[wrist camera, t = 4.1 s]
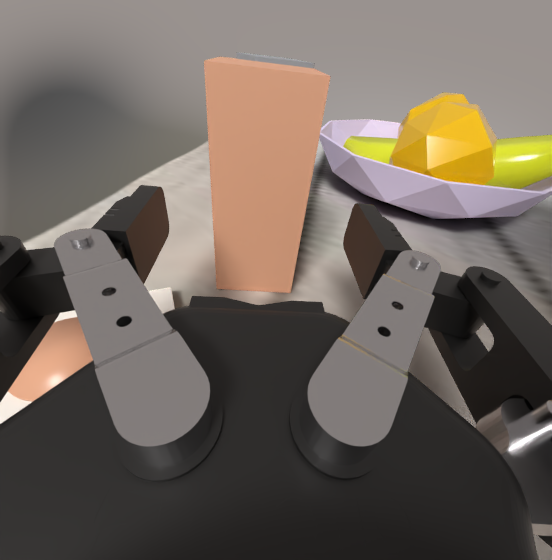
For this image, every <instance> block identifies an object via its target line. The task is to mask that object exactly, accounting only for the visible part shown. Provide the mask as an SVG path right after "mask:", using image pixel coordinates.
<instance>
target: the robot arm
mask: <svg viewBox="0 0 552 560" xmlns="http://www.w3.org/2000/svg"><path fill="white" fill-rule="evenodd" d="M168 234H169V221H168V215H167V209H166V203H165V197H164V192H163V189H162V188H161V187H157V186H145V185H140V186H139V187H138V189H137V190H136V191H135V192H134V193H133V194H132V195H131V196H130V197H129V196H127V197H125V198H123V199H121V200H119V201H117V202H116V203H115V204H114V205H113V206H112V207H111V208H110V209H109V210H108V211H107V212H106V213H105V215H103V217H102V218H101V219H100V220H99V221H98V222H97V223H96V224H95V225H94V226H93V227H92V228H91V229H79V230H74V231H71V232H68V233H66V234H64V235H62V236H60V237H59V238H58V239H57V240H56V241H55V243H54V247H53V248H44V249H35V250H26V248H25V247H24V245H23V243H22V242H21V240H20V239H18V238H16V237H13V236H0V402H1V401H2V399H3V398H4V396H5V395H6V393H7V392H8V390H9V389H10V387H11V386H12V384H13V383H14V381H15V380H16V378H17V377H18V375H19V374H20V372H21V371H22V369H23V368H24V366H25V365H26V363H27V362H28V360H29V359H30V357H31V356H32V354H33V353H34V351H35V350H36V349H37V347H38V346H39V344H40V343H41V341H42V340H43V338H44V337H45V335H46V334H47V332H48V331H49V329H50V328H51V326H52V325H53V323H54V322H55V320H56V319H57V317H58V316H59V314H60V313H63V312H68V311H74V310H75V312H76V314H77V317H78V320H79V323H80V325H81V328H82V331H83V333H84V336H85V339H86V342H87V344H88V347H89V350H90V353H91V355H92V358H93V360H92V361H91V362H89V363H88V364H87V365H85V366H84V367H82V368H81V369H79V370H78V371H76V372H75V373H73V374H72V375H71V376H69V377H68V378H66V379H65V380H63V381H62V382H60V383H59V384H58V385H56V386H55V387H53V388H52V389H50V390H49V391H47V392H46V393H44V394H43V395H42V396H40V397H39V398H37V399H36V400H34V401H33V402H31V403H30V404H28V405H27V406H26V407H24V408H23V409H21V410H20V411H18V412H17V413H15V414H14V415H12V416H11V417H10V418H8V419H7V420H5V421H4V422H2V423H1V424H0V560H539V559H538V555H537V551H536V546H535V542H534V536H533V535H538V536H539V537H540V538H541V539H542V540H544V541H545V542H546V543H547V544H548V545H550V546H551V547H552V325H551V324H550V323H549V322H548V321H547V320H546V319H545V318H544V317H543V316H542V315H541V314H540V313H539V312H538V311H537V310H536V309H535V308H534V307H533V306H532V305H531V304H530V302H529V301H528V300H527V299H526V298H525V297H524V296H523V295H522V294H521V293H520V292H519V291H518V290H517V289H516V288H515V287H514V286H513V285H512V284H511V283H510V282H509V281H508V280H507V279H506V278H505V277H503V276H502V275H500V274H498V273H497V272H495V271H492V270H490V269H487V268H483V267H476V266H474V267H469V268H468V269H467V270H466V271H465V273H464V274H463V275H462V277H460V276H456V275H452V274H448V273H444V272H441V266H440V264H439V263H438V262H437V261H436V260H435V259H434V258H432V257H431V256H429V255H427V254H424V253H422V252H418V251H413V250H412V249H411V248H410V246H409V245H408V244H407V242H406V241H405V240H404V238H403V237H401V236H402V235H401V234H400V233H399V231H398V230H397V228H396V227H395V226H394V224H393V223H392V222H390V221H389V220H387V219H386V218H385V217H382V216H381V214H380V213H379V211H378V210H377V208H376V207H375V206H374V205H370V204H358V203H356V204H355V205H354V207H353V209H352V212H351V216H350V219H349V222H348V225H347V229H346V232H345V235H344V242H343V246H344V250H345V253H346V255H347V258H348V260H349V263H350V265H351V268H352V271H353V273H354V276H355V278H356V281H357V283H358V286H359V288H360V291H361V294H362V296H363V299H366V300H365V302H364V303H363V305H362V306H361V308H360V309H359V311H358V312H357V314H356V315H355V317H354V318H353V320H352V321H351V323H349V322H348V321H346V320H344V319H342V318H340V317H338V316H336V315H333V314H330V313H327V312H324V308H323V303H322V302H306V301H287V302H280V303H273V304H266V305H254V304H250V303H245V302H241V301H237V300H233V299H229V298H223V297H202V296H192V298H191V302H190V305H189V306H185V307H180V308H176V309H173V310H170V311H168V312H165V313H163V314H162V312H161V310H160V309H159V307H158V306H157V304H156V303H155V301H154V300H153V298H152V297H151V295H150V293H149V292H148V290H147V289H146V287H145V286H144V283H145V281H146V279H147V277H148V275H149V273H150V271H151V269H152V267H153V265H154V263H155V261H156V259H157V257H158V255H159V253H160V251H161V249H162V247H163V245H164V243H165V241H166V239H167V237H168ZM484 323H485V324H486V325H487V327H488V328H489V330H490V331H491V332H492V334H493V337H494V345H493V348H492V349H491V350H490V351H489V352H488V351H487V349H486V348H485V346H484V345H483V343H482V342H481V340H480V339H479V337H478V336H477V334H476V333H475V332H476V331H477V330H478V329H479V328H480V327H481V326H482V325H483V324H484ZM424 327H426V328H428V329H429V331H430V333H431V335H432V337H433V339H434V341H435V343H436V345H437V347H438V349H439V351H440V353H441V355H442V357H443V359H444V361H445V363H446V365H447V367H448V369H449V371H450V373H451V375H452V377H453V379H454V381H455V383H456V385H457V387H458V389H459V391H460V392H461V394H462V396H463V398H464V400H465V402H466V404H467V406H468V408H469V410H470V412H471V414H472V416H473V418H474V420H475V422H476V428H475V427H473V426H472V425H471V424H470V423H469V422H468V421H466V420H465V419H464V418H463V417H462V416H460V415H459V414H458V413H457V412H456V411H455V410H453V409H452V408H451V407H450V406H449V405H447V404H446V403H445V402H444V401H443V400H442V399H440V398H439V397H438V396H437V395H436V394H434V393H433V392H432V391H431V390H430V389H429V388H427V387H426V386H425V385H424V384H423V383H421V382H420V381H419V380H418V379H417V378H416V377H414V376H413V375H412V374H411V373H410V372H408V369H409V366H410V363H411V361H412V358H413V355H414V352H415V350H416V347H417V344H418V341H419V339H420V336H421V333H422V331H423V328H424Z"/></svg>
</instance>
